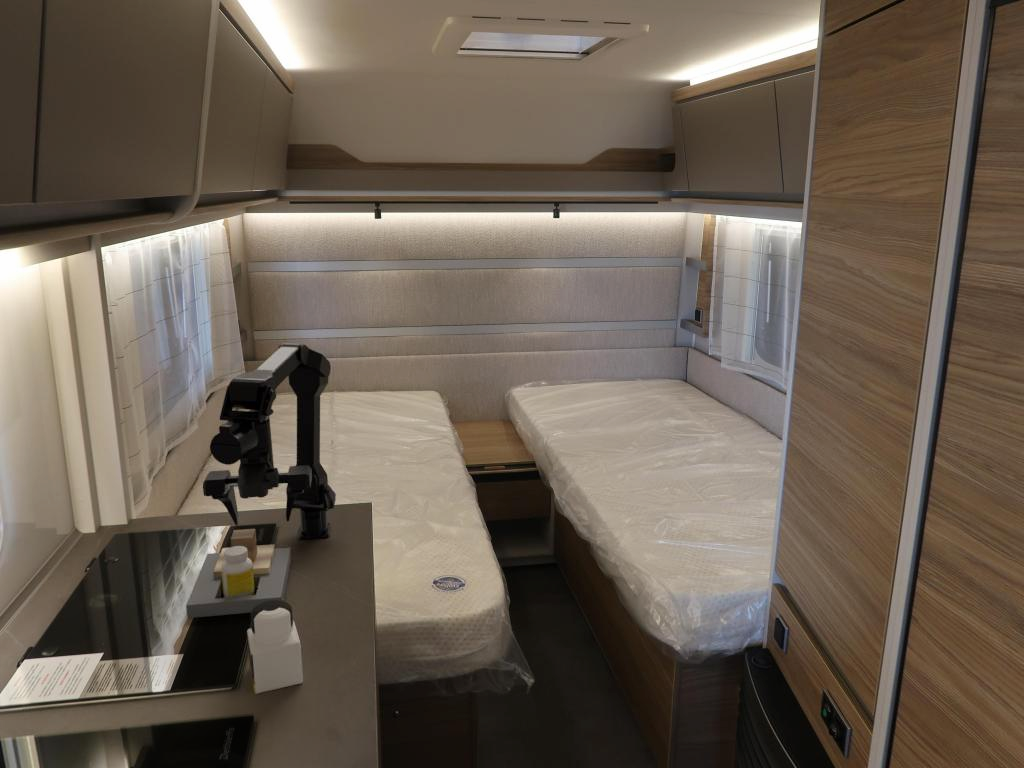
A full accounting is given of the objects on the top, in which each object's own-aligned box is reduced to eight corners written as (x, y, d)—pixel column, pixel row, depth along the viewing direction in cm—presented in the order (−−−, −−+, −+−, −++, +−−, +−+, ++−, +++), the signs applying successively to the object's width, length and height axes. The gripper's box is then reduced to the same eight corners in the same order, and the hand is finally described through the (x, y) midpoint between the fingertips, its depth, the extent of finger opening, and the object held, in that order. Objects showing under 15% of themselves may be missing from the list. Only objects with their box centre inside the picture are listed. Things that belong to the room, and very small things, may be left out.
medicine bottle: (250, 668, 122) (244, 600, 119) (296, 658, 125) (291, 591, 122) (254, 695, 116) (248, 623, 113) (303, 683, 119) (298, 613, 116)
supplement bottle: (261, 598, 143) (257, 549, 141) (235, 610, 139) (230, 560, 137) (244, 589, 146) (239, 541, 144) (218, 600, 142) (213, 551, 140)
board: (208, 565, 155) (207, 553, 155) (291, 558, 158) (290, 547, 158) (187, 618, 136) (186, 605, 136) (281, 609, 139) (280, 597, 139)
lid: (222, 553, 155) (220, 524, 153) (274, 549, 157) (272, 521, 155) (213, 577, 145) (211, 547, 144) (269, 573, 147) (267, 543, 146)
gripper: (192, 463, 132) (201, 546, 137) (304, 457, 136) (310, 538, 140) (205, 441, 143) (213, 519, 147) (309, 435, 146) (314, 511, 151)
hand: (262, 522), depth 146 cm, fingers open, 9 cm apart
